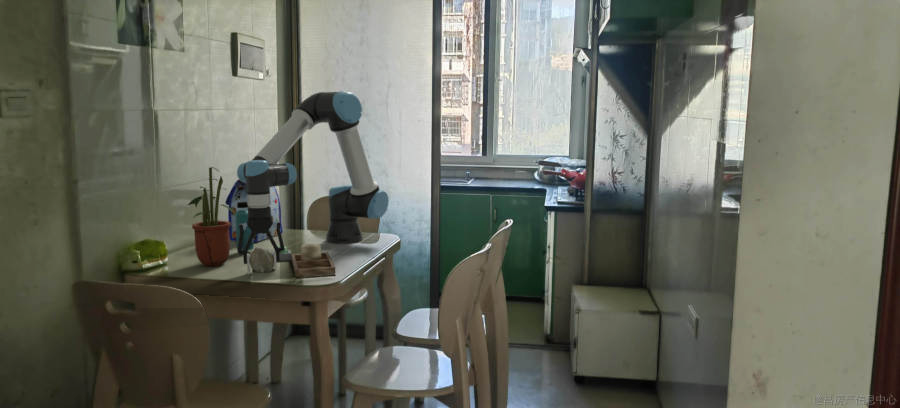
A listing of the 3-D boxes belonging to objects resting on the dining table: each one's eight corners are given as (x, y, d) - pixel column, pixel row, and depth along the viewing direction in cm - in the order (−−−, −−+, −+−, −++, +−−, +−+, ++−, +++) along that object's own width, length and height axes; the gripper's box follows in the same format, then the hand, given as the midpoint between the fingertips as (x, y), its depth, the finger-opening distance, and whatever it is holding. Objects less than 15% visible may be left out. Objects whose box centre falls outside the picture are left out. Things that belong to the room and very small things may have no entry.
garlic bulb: (270, 281, 234) (272, 256, 230) (245, 278, 234) (246, 253, 229) (276, 267, 243) (278, 242, 239) (251, 264, 242) (253, 239, 238)
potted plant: (200, 260, 256) (195, 166, 251) (243, 260, 257) (238, 165, 252) (185, 272, 239) (179, 170, 234) (231, 271, 240) (225, 170, 235)
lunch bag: (251, 232, 314) (248, 173, 310) (285, 233, 310) (282, 173, 306) (223, 242, 292) (220, 178, 288) (259, 243, 288) (256, 179, 284)
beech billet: (320, 259, 252) (319, 243, 251) (322, 264, 245) (321, 247, 244) (300, 261, 250) (300, 244, 249) (301, 265, 243) (301, 248, 242)
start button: (286, 256, 257) (286, 245, 256) (287, 258, 253) (286, 248, 252) (275, 257, 256) (275, 246, 255) (276, 259, 252) (275, 248, 251)
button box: (290, 258, 259) (290, 249, 258) (291, 262, 252) (291, 253, 251) (271, 259, 257) (271, 250, 256) (272, 264, 250) (271, 254, 250)
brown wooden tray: (328, 260, 255) (327, 252, 255) (335, 276, 231) (335, 267, 231) (291, 262, 252) (291, 254, 251) (295, 279, 228) (295, 270, 228)
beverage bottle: (249, 254, 266) (246, 203, 263) (233, 254, 267) (230, 202, 265) (257, 251, 272) (254, 200, 270) (241, 250, 274) (239, 200, 271)
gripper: (290, 203, 240) (293, 267, 243) (227, 206, 235) (230, 271, 238) (291, 206, 233) (294, 272, 236) (226, 209, 228) (229, 276, 231)
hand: (262, 272), depth 237 cm, fingers closed on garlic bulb, 8 cm apart
